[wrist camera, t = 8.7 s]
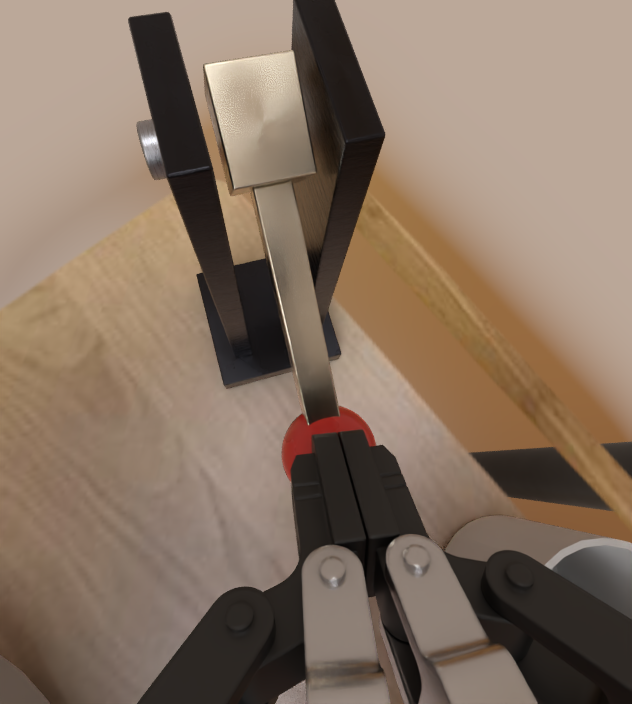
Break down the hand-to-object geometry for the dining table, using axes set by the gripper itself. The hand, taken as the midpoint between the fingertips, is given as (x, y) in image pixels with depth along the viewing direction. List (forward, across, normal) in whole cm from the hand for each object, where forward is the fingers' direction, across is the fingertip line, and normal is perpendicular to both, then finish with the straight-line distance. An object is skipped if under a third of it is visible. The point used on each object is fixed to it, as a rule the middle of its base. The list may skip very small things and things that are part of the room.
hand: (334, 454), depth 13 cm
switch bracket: (+15, +1, +3) cm, 16 cm away
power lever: (+4, +1, -3) cm, 5 cm away
